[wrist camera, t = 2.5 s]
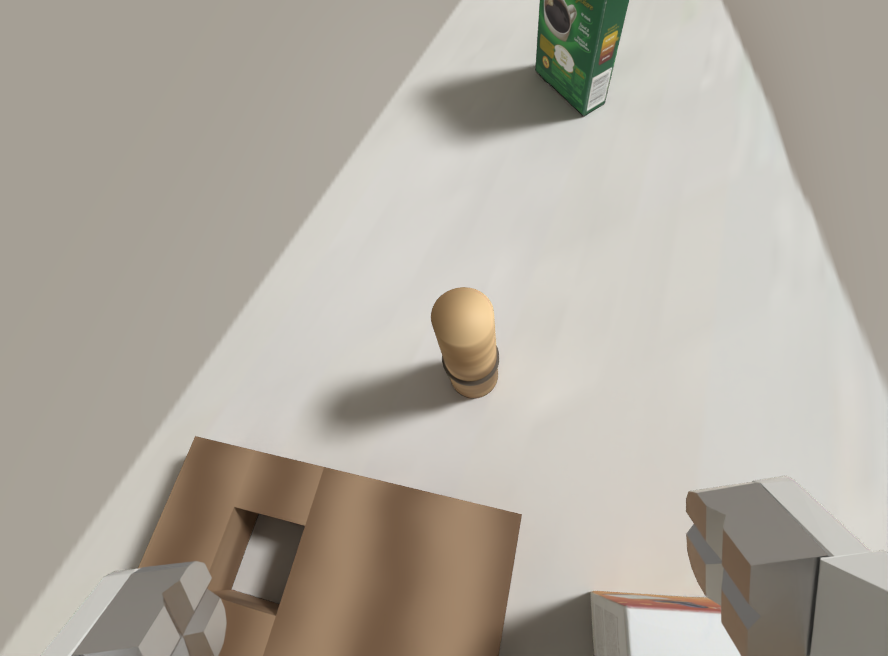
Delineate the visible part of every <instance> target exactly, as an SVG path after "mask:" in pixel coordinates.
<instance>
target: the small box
mask: <svg viewBox="0 0 888 656" xmlns="http://www.w3.org/2000/svg"><path fill="white" fill-rule="evenodd" d="M591 614H592V631H593V646H594V656H741V655H740V653H739V651H738V650H737V648H736V646H735V645H734V643H733V641H732V640H731V638H730V636H729V635H728V633H727V631H726V630H725V628H724V626H723V625H722V623H721V606H720V605H719V604H717V603H715V602H714V601H712V600H711V599H709V598H704V597H680V596H665V595H650V594H636V593H620V592H604V591H592V592H591Z"/></svg>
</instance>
